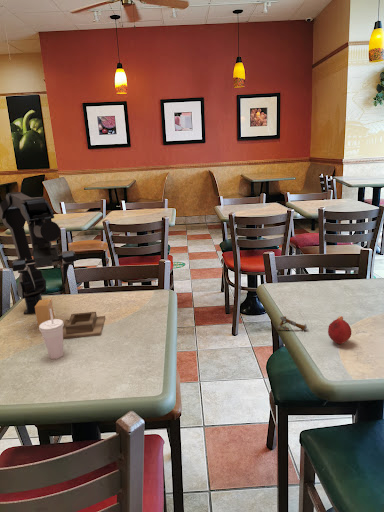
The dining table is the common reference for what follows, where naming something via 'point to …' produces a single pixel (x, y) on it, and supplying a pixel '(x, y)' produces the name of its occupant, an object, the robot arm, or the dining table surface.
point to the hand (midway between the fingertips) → (49, 286)
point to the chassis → (83, 325)
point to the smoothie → (53, 336)
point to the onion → (339, 330)
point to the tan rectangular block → (44, 310)
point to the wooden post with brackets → (290, 323)
